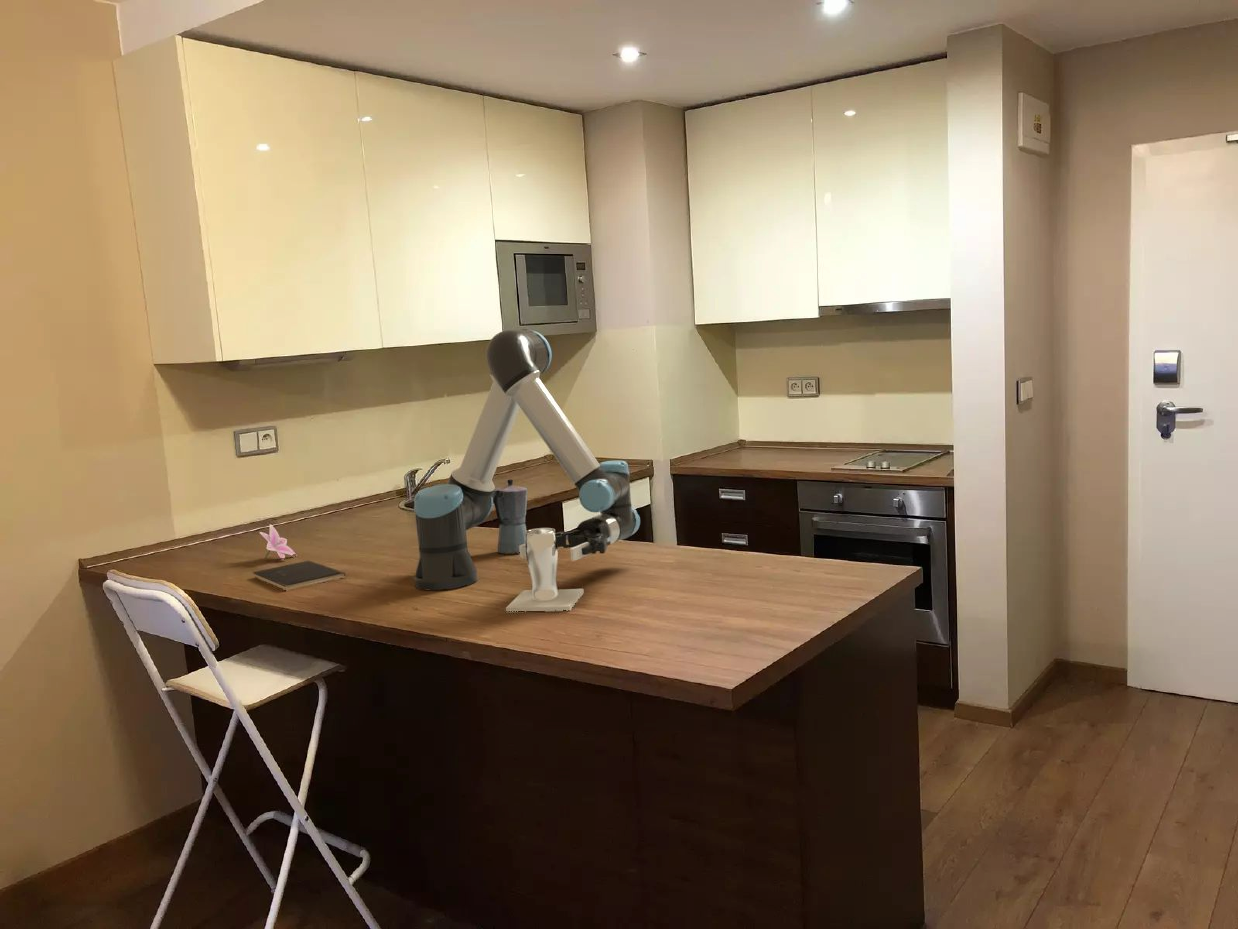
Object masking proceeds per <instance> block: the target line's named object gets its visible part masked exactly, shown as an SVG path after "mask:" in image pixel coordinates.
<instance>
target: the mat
mask: <svg viewBox="0 0 1238 929" xmlns="http://www.w3.org/2000/svg"><path fill="white" fill-rule="evenodd" d="M584 591H585V590H584V588H567V589H566V588H565V589H561V588H560V589H558V592H559V598H558V599H555V600H552V601H545V602H538V601H533V600H532V589H530V590H526V589H525V590H522V591H521V592H520V593H519V594H518V595H517V596H516V597H515V598H514V599H513V600H512V601H511V602H510V603H509V604H508V605H507V606H506V607H505V612H506V611H510V612H509V613H519V612H518V611H525V612H524V613H527V612H526V611H545V612H564V611H563V610H566V611H565V612H569V611H568V610H570V611H571V610H573V608H574V606H575V605H576V604H577V603H578V601H579V600H580V599H581V597H582V596H583V595H584ZM578 599H579V600H578ZM575 603H576V604H575ZM572 607H573V608H572ZM555 610H556V611H555ZM511 611H512V612H511ZM513 611H515V612H513ZM516 611H517V612H516Z"/></svg>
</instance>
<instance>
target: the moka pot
mask: <svg viewBox="0 0 1238 929" xmlns="http://www.w3.org/2000/svg"><path fill="white" fill-rule="evenodd" d="M513 484H514V480H513V479H507V485H505V486H503V487H498V488H495V489H494V492H493V506H494V508H495V513H496V517H497V520H498V524H499V527H498V528H499V529H498V539H497V552H498V553H499V552H500V554H504V553H505V554H506V555H508V553H509V554H510V553H513V554H519V553H518V552H519V546H520V545H523V544H525V532H526V531H528V530H527V525H526V515H527V504H528V487H523V486H519V485H513Z"/></svg>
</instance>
